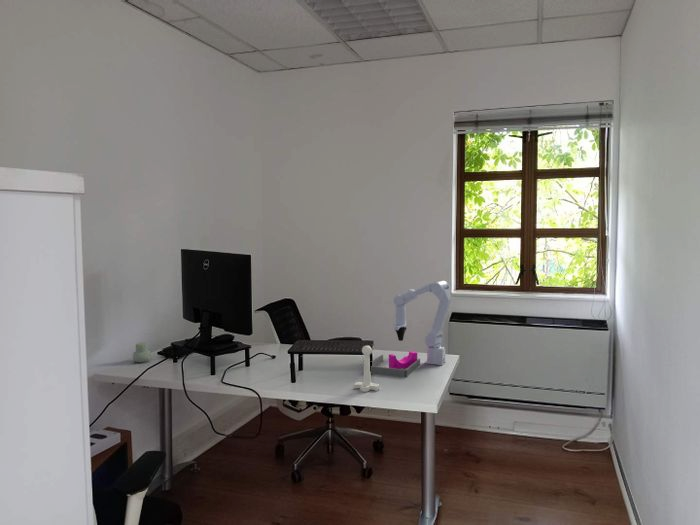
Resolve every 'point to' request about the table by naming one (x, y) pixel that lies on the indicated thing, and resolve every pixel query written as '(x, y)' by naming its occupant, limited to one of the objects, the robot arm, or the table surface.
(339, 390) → the table surface
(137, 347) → the air freshener
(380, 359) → the grey tray
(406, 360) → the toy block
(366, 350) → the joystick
